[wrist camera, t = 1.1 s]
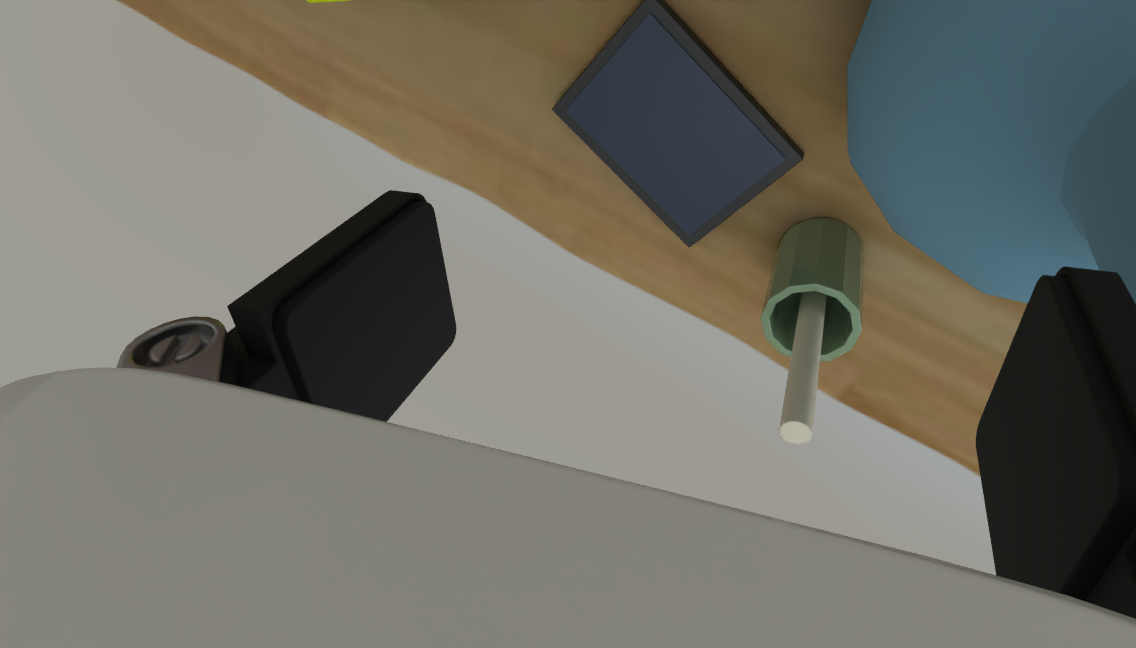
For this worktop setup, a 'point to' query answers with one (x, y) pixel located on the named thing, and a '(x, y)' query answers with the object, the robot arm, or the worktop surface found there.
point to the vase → (1001, 134)
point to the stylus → (803, 370)
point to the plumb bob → (315, 0)
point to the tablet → (676, 124)
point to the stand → (816, 285)
